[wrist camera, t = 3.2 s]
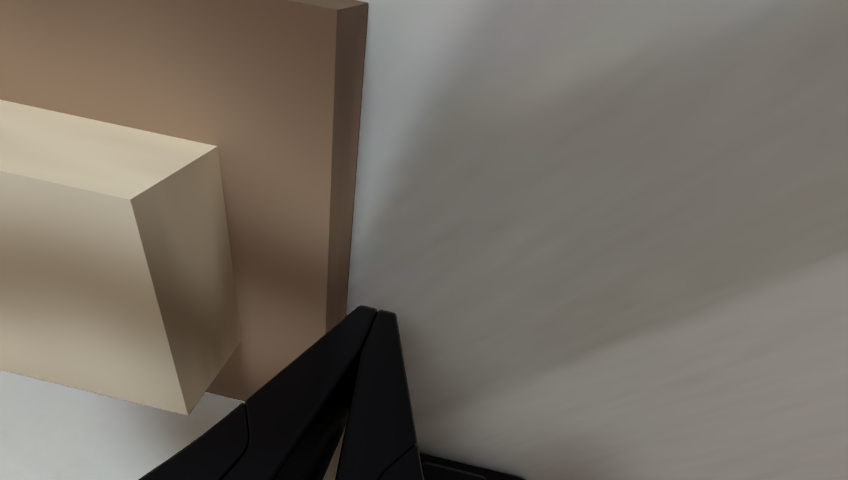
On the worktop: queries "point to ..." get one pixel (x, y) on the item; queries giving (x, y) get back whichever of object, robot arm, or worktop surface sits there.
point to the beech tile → (113, 259)
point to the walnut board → (225, 133)
